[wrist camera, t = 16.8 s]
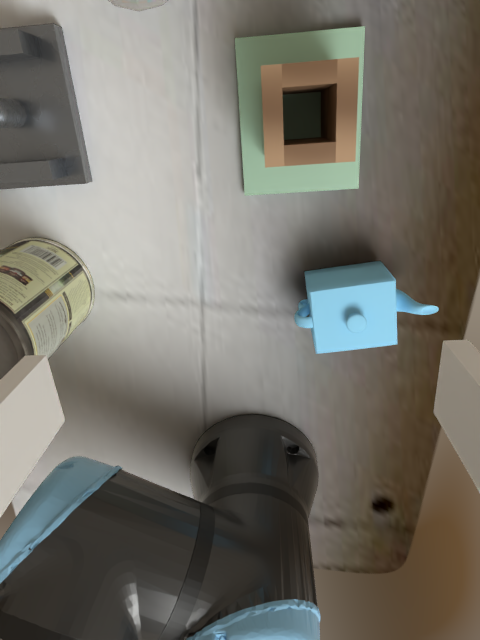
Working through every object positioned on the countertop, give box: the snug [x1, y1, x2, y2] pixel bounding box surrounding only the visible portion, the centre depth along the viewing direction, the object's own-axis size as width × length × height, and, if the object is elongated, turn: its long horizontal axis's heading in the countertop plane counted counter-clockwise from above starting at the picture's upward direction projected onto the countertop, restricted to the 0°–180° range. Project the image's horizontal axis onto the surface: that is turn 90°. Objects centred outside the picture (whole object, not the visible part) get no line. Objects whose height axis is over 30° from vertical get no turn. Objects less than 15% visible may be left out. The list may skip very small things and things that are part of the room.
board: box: [235, 26, 365, 196], centre depth 37 cm, size 12×10×1 cm
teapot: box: [295, 261, 439, 354], centre depth 40 cm, size 12×6×8 cm, turn 100°
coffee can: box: [0, 238, 95, 380], centre depth 39 cm, size 10×10×14 cm
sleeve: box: [261, 57, 359, 168], centre depth 32 cm, size 6×6×9 cm
